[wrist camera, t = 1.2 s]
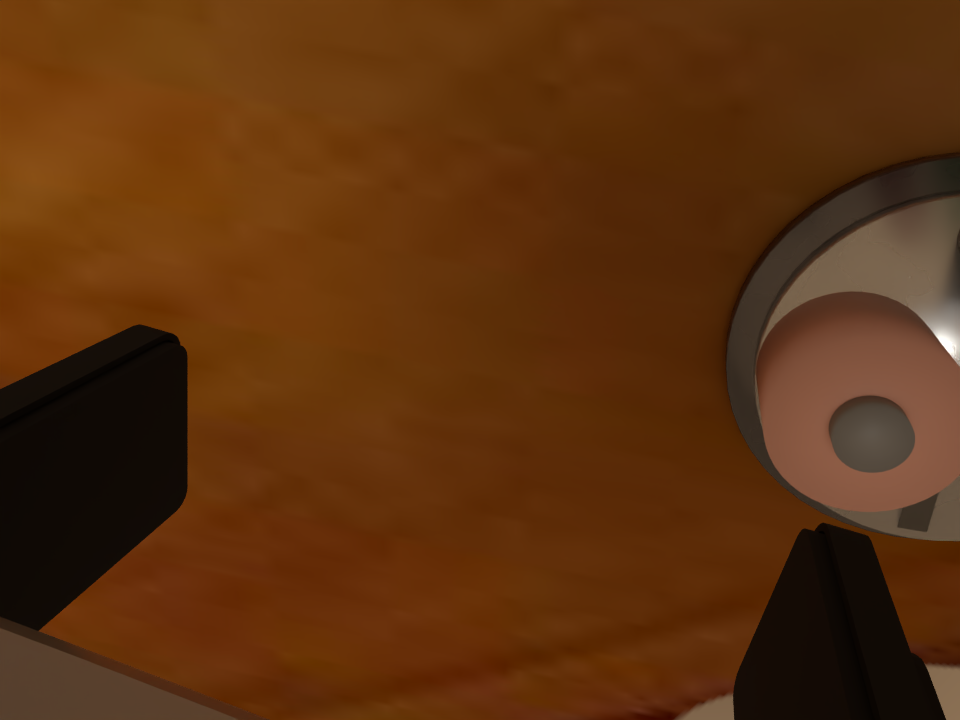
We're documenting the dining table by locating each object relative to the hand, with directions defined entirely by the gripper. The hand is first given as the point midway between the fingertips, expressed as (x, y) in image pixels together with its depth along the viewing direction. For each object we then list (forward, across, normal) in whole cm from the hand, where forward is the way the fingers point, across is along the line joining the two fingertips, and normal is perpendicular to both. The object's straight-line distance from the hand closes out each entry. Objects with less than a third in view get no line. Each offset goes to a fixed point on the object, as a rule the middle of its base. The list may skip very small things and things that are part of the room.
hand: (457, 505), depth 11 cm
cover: (+18, -10, +3) cm, 21 cm away
